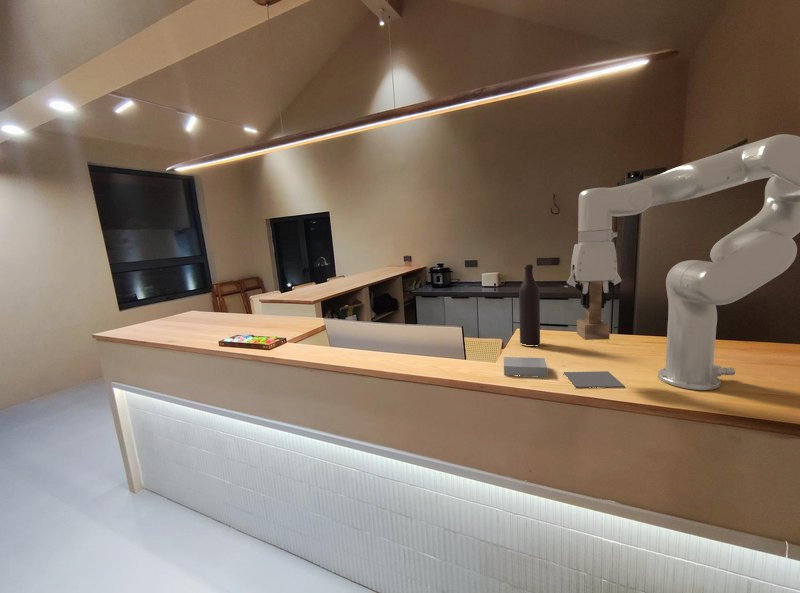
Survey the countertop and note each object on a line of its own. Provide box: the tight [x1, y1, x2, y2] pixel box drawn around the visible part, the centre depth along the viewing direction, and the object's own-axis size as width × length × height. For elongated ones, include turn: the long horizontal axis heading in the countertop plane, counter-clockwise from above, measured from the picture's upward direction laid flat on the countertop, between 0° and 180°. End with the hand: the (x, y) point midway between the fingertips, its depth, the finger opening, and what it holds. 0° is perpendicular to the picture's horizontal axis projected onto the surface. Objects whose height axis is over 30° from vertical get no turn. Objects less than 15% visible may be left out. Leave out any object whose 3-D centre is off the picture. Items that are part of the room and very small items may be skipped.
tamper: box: [576, 281, 611, 341], centre depth 92 cm, size 6×6×16 cm
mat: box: [563, 370, 626, 389], centre depth 95 cm, size 12×10×1 cm
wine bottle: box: [518, 263, 541, 346], centre depth 126 cm, size 7×7×30 cm
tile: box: [503, 356, 548, 378], centre depth 105 cm, size 3×8×12 cm
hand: (593, 306), depth 92 cm, fingers closed on tamper, 3 cm apart
